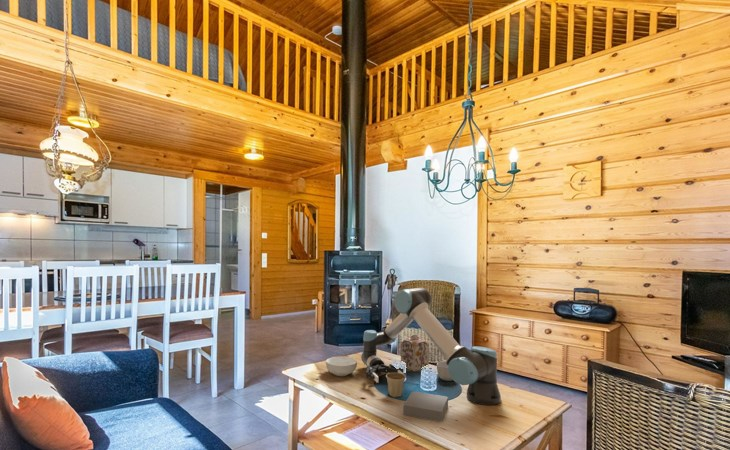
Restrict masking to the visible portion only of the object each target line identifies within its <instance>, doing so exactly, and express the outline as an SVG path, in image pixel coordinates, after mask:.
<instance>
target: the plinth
mask: <svg viewBox="0 0 730 450" xmlns="http://www.w3.org/2000/svg"><path fill="white" fill-rule="evenodd" d="M448 407H449V397H448V396H445V395H439V394H434V393H427V392H421V391H420V392H419V391H414V390H412V391H411V393H410V395H409V396H408V397H407V399H406V400H405V402H404V404H403V406H402V409H403V411H402V412H403V413H402V415H403V416H408V417H414V418H417V419H424V420H429V421H434V422H441V423H442V422H443V419H444V417H445V415H446V412H447V409H448Z"/></svg>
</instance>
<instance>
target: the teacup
mask: <svg viewBox="0 0 730 450" xmlns="http://www.w3.org/2000/svg"><path fill="white" fill-rule="evenodd" d="M436 371H437V375H438V377H439V378H440V379H441V380H442V381H446V382H452V381H454V380H453V379H452V378H451V377H450V375H449V370H448V365H447V364H446V359H443V360H441V361H438V362H437V363H436Z"/></svg>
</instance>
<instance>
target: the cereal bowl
mask: <svg viewBox="0 0 730 450" xmlns="http://www.w3.org/2000/svg"><path fill="white" fill-rule="evenodd" d="M325 366H326V369H327V370H328V372H330V373H331V374H333V375H334V376H337V377H345V376H349V375H350V374H352V373H353V372H354V371H356V369H357V366H358V361H357V359H355V358H354V357H351V356H332V357H330V358H327V359H326V360H325Z"/></svg>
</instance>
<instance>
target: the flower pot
mask: <svg viewBox="0 0 730 450" xmlns="http://www.w3.org/2000/svg"><path fill="white" fill-rule="evenodd" d="M385 374H386V375H385V378H386V380H387V388H388V389H387V390H388V395H390V396H391V397H393V398H394V397H395V398H396V397H401V396H403V389H404V383H405V380H406V378H407V377H406V374H405V373H404V374H405V375H404V374H401V373H385Z"/></svg>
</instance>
